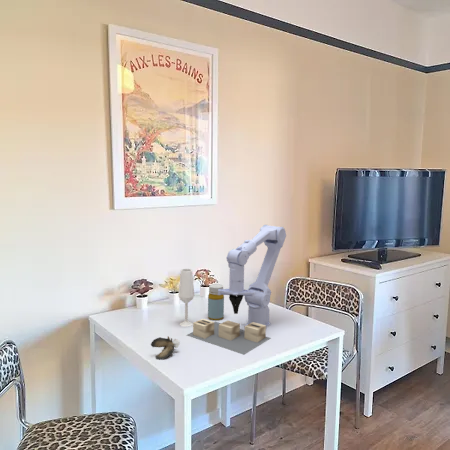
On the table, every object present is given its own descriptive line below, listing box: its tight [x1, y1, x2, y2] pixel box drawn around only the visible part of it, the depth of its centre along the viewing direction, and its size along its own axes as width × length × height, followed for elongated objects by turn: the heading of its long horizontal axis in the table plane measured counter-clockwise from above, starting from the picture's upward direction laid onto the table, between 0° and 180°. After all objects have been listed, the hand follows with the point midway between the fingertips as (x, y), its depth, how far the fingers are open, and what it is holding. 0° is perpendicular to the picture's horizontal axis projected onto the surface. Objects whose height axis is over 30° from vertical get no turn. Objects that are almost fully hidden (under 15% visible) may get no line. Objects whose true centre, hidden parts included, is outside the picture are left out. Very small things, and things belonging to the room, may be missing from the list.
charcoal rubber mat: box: [186, 321, 272, 355], centre depth 166 cm, size 19×28×1 cm
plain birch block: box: [219, 319, 241, 340], centre depth 166 cm, size 6×6×5 cm
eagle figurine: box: [150, 336, 181, 361], centre depth 151 cm, size 8×7×9 cm
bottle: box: [207, 283, 225, 321], centre depth 186 cm, size 7×7×15 cm
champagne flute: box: [178, 268, 195, 328], centre depth 178 cm, size 7×7×24 cm
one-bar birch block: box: [244, 322, 267, 342], centre depth 165 cm, size 6×6×5 cm
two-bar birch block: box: [192, 318, 215, 339], centre depth 168 cm, size 6×6×5 cm
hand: (236, 313), depth 167 cm, fingers closed
